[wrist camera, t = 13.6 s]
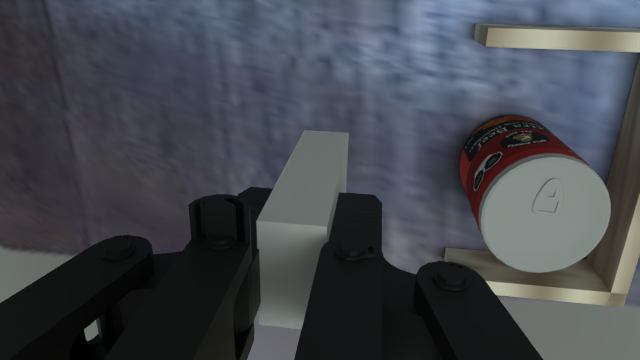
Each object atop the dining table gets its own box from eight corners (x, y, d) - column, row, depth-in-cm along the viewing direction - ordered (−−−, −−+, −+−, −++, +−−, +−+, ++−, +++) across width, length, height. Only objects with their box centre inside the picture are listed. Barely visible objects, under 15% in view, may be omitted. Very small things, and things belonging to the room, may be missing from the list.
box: (444, 258, 44) (450, 290, 39) (475, 23, 36) (488, 27, 32) (598, 272, 42) (623, 307, 37) (664, 29, 35) (706, 34, 30)
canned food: (554, 106, 38) (614, 148, 27) (555, 199, 40) (611, 269, 30) (453, 120, 39) (475, 165, 29) (461, 209, 42) (483, 278, 32)
